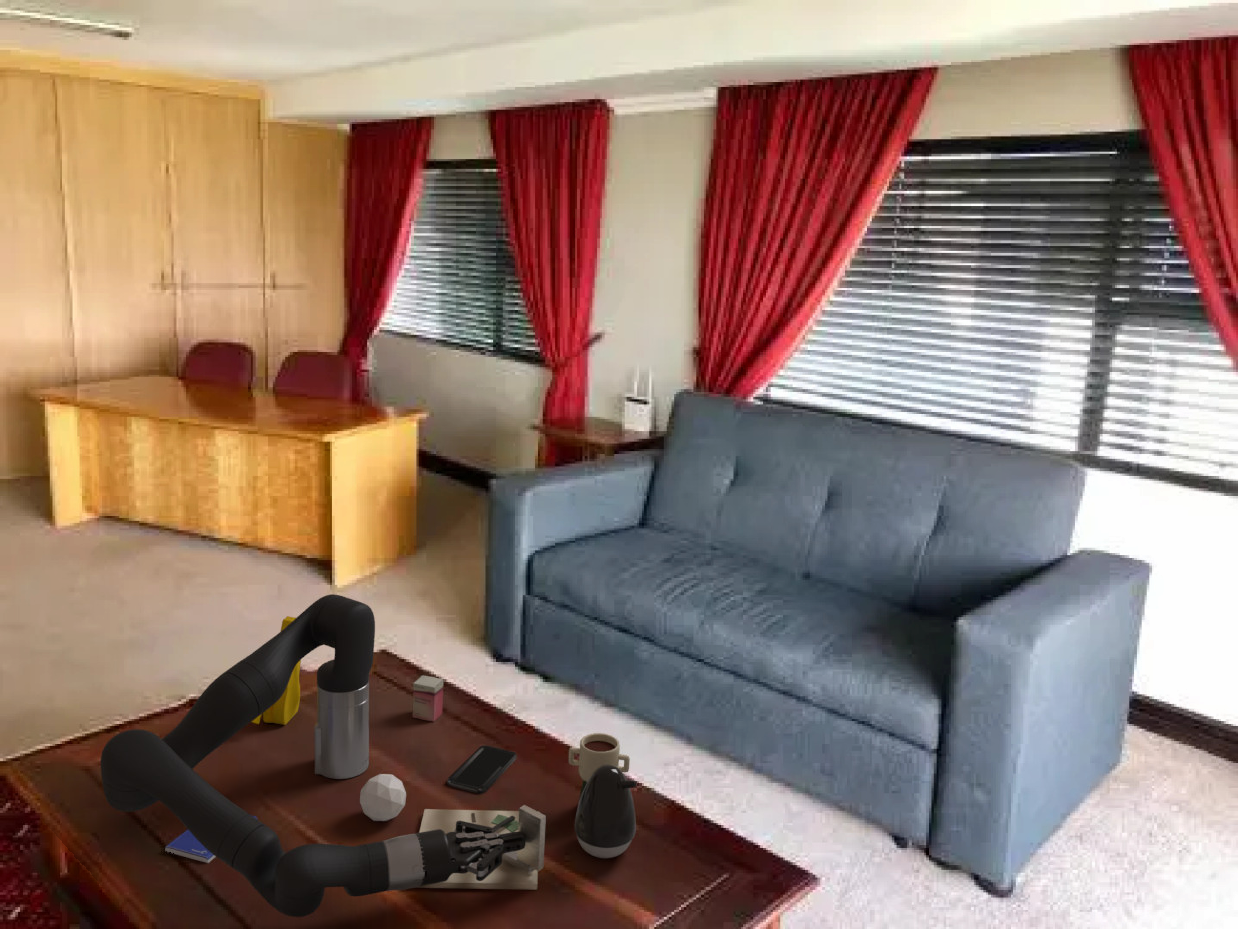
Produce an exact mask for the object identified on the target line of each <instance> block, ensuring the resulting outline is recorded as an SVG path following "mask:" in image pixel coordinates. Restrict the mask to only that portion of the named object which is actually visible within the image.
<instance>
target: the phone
mask: <svg viewBox="0 0 1238 929" xmlns="http://www.w3.org/2000/svg"><path fill="white" fill-rule="evenodd" d="M516 760H517V753H516V752H514V751H511V750H508V749H505V748H504V749H503V748H499V747H497V746H496V747H495V746H491V745H485V744H484V745H481V746H480V747H478V748H477V749H476V750H475V751H474V752H473V753H472V754H471V755H470V756H469V757H468V758H467V759H466V760H465V761H464V762H463V763H462V764H461V765H460V766H459V767H458V768H457V769H456V770H454V772H453V773H452V774H451V775H450V776H449V777H448V778H447V782H446V785H447V786H449V787H450V788H451V787H452V788H454V789H459V790H463V791H466V792H470V793H474V794H478V795H482V794H485V793H486V792H488V790H489V789H490V788H491V787H492V786H493V785H494V784H495V783H496V782H497V781H498V779H499V778H500V777H501V776H503V774H504V773H505V772H506V771H507V770H508V768H509V767H511V765H512V764H513V763H515V761H516Z"/></svg>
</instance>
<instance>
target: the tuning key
mask: <svg viewBox="0 0 1238 929" xmlns="http://www.w3.org/2000/svg"><path fill="white" fill-rule="evenodd" d="M518 811H519V826H518V832H519V831H521V832H522V833H523V834H524V836H525V838H526V842H525V848H524V849H521V850H518V851H517V852H516V851H513V852H508V853H504V854H503V855H502V859H503V860H505V861H507V862H508V863H510V864H512V865H514V866H515V867H517V868H519V869H521V870H522V871H524V872H526V873H528V874H530V873H531V872H533V871H534V870H537V871H538V872H540V871H541V870H542V869H544V862H545V845H546V843H545V841H546V824H547V823H546V820H547V818H546V817H547V816H546V815H545V814H543V813H541V812H540V811H537V810H535V809H534V808H531V807H529V806H527V805H526V804H524V805H522V806H520V807H519V808H518ZM539 812H540V813H539ZM514 820H515V817H514V816H510V817H509V818H507V819H505V820H504V821H502V822H501V823H499V824H497V825H496V826H494V827H492V832H496V831H497V830H499V829H501V828H502V827H504V826H505V825H507V824H509V823H510V822H512V821H514ZM490 852H491V851H490Z"/></svg>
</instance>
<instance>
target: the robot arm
mask: <svg viewBox="0 0 1238 929" xmlns="http://www.w3.org/2000/svg"><path fill="white" fill-rule="evenodd" d="M295 618H296V619H295V620H294V621H292V622H291V623H290V624H289V625H288V626H287V627H286V628H284V629H283V630H282V631H281V630H280V632H278V633H277V634H276V635H275V636H273V637H272V638H270V639H269V640H267V641H266V642H265V643H263V644H262V645H261V646H259V647H258V648H257V649H256V650H254V651H253V652H252V653H250V654H249V655H247V656H246V657H244V658H243V659H241V660H240V661H238V662H237V663H235V664H234V665H233V666H232V665H231V667H230V668H228V669H226V671H224V672H222V673H221V674H220V675H219V676H218V677H216V678H215V679H214V680H213V681H212V682H211V683H210V684H208V686H206V689H204V691H203V692H202V693H201V695H199V697H198V698H197V700H196V701H195V702H194V704H193V705H192V707H191V708H190V709H189V710H188V712H187V714H186V715H184V717H183V718H182V720H181V721H180V722H179V723H178V724H177V726H175V727H174V729H172V730H171V731H170V732H169V733H168V734H166V735H165V736H164V737H162V738H161V737H159V736H158V735H157V734H155V733H154V732H152V731H149V730H146V729H138V728H135V729H128V730H123V731H121V732H119V733H117V734H116V735H114V736H113V737H111V738H110V739H109V740H108V741H107V742H106V744H105V745H104V746H103V749H102V752H101V756H100V761H99V762H100V773H101V781H102V787H103V793H104V796H105V799H106V801H107V803H108V804H109V806H111V807H112V808H113V809H114V810H117V811H120V812H126V813H132V812H138V811H141V810H144V809H147V808H149V807H150V806H152V805H153V804H155V803H157V802H160V803H162V804H163V805H164V806H165V807H166V808H168V810H170V811H171V813H173V814H174V816H176V818H177V819H178V820H180V822H181V823H182V824H183V826H185V828H186V830H189V831H190V832H191V833H192V835H193V836H194V837H195V838H196V839H197V840H198V841H199V842H200V843H201V844H202V845H203V846H204V847H205V848H206V849H207V850H208V851H209V852H211V853H212V854H213V855H215V856H216V857H215V858H217V859H218V860H221V861H222V862H223V863H225V864H226V865H227V866H229V867H230V868H232V869H233V870H235V871H236V872H238V873H239V874H241V875H242V876H243V877H244V879H246V880H247V881H248V882H249V883H250V885H251V886H252V887H253V889H254V890H256V891H257V893H258V894H259V895H260V896H261V897H262V898H263V899H264V900H265V901H266V902H267V903H268V904H269V905H270V906H271V907H272V908H274V909H275V910H276V911H278V912H279V913H281V914H283V915H286V916H288V917H293V918H302V917H303V918H304V917H306V916H309V915H311V914H313V913H314V912H315V911H316V910H317V909H318V908H319V907H320V905H321V904H322V902H323V899H324V895H325V889H326V888H343V889H344V890H345V892H346V894H347V895H348V896H350V897H363V896H368V895H373V894H374V895H375V894H379V893H383V892H389V891H402V890H403V891H404V890H408V889H413V888H414V887H419V886H424V885H429V884H434V883H439V882H445V881H447V880H448V878H449V877H450V875H451V874H453V873H462V874H464V873H467V872H471V873H473V874H476V880H478V881H482V880H484V879H485V878H486V877H487V876H488V875H489V874H491V873H492V872H493V871H494V870H495V869H496V868H497V867H498V866H499V865H501V864H502V855H503V854H504V853H508V852H513V851H518V850H521V849H524V848H525V842H526V838H525V836H524V834H523V833H522V832H521V831H519V832H511V833H505V834H499V833H494V832H492V828H491V827H487V826H483V825H478V824H473V823H469V822H464V821H457V822H456V829H455V830H454V832H449V833H447V834H445V832H444V831H443V830H441V829H437V830H432V831H426V832H420V831H419V832H420V833H419V832H416V833H408V834H404V835H399V836H395V837H392V838H389V839H385V840H380V841H376V842H375V841H374V842H370V843H369V842H368V843H364V844H358V845H346V844H333V843H330V844H329V843H308V844H302V845H298V846H296V847H294V848H292V849H290V850H288V851H287V852H286V851H284V849H283V848H282V846H281V841H280V838H279V835H278V834H277V833H276V831H274V830H273V829H272V828H271V827H269V826H268V825H266V824H265V823H263V822H262V821H261V820H259V819H258V818H257V819H256V818H254V817H253V816H254V815H251V814H250V813H248V812H247V811H246V810H244V809H242V808H241V807H240V806H238V805H237V804H235V803H234V801H233V802H232V800H230V799H229V798H227V797H226V796H224V795H223V794H222V793H221V792H219V791H218V790H217V789H216V788H215V787H214V786H212V785H211V784H210V783H208V781H206V780H205V779H204V778H203V777H202V776H201V775H199V773H197V772H196V771H195V770H194V768H195V767H197V765H199V763H201V761H203V760H204V759H205V758H206V757H207V756H209V755H210V754H212V752H214V751H215V750H216V749H219V747H220V746H222V745H223V744H225V742H228V740H229V739H230V738H232V737H233V736H234V735H235V734H237V733H238V732H239V731H241V730H242V729H243V728H244V727H246V726H247V725H249V724H250V723H252V722H251V721H253V720H254V719H256V718H257V717H258V716H260V715H261V714H262V715H263V712H265V711H266V710H267V709H269V708H270V707H271V706H272V705H273V704H275V703H276V702H277V701H278V700H279V699H280V698H281V696H282V695H283V693H284V691H285V689H286V687H287V685H288V683H289V680H290V677H291V674H292V672H293V670H294V667H295V666H296V664H297V663H298V662H299V661H300V660H301V661H302V659H303V658H304V657H306V656H307V655H308V654H309V653H311V652H313V651H314V650H316V649H317V648H319V647H321V646H327V647H328V648H329V647H330V648H332V649H333V650H334V656H333V659H330V660H328V661H326V662H324V663H322V664H321V665H320V666H319V667H318V669H317V672H316V704H317V705H316V710H317V711H316V713H317V714H316V716H317V717H316V719H317V720H316V723H315V725H314V730H313V732H314V738H313V739H314V774H315V775H322V776H323V777H325V778H329V779H335V780H343V779H346V780H347V779H351V778H354V777H357V776H359V775H361V774H363V773H364V772H366V770H367V769H368V768H369V765H370V764H369V761H370V760H369V759H370V751H369V750H370V748H369V747H370V736H369V735H370V720H369V719H370V718H369V716H370V715H369V714H370V712H369V710H370V709H369V708H370V707H369V706H370V673H371V670H372V668H373V663H374V656H375V655H374V653H375V636H376V621H375V616H374V612H373V609H372V608H371V607H370V606H369V605H368V604H366V603H364V602H361V601H359V600H357V599H352V598H350V597H347V596H344V595H343V596H342V595H340V594H334V593H333V594H332V593H331V594H326V595H325V596H322V597H320V598H319V599H316V600H315V601H314V602H313V603H311V605H309V606H307V608H306V609H305V610H304V611H302V612H301V613H300V614H299V615H298V616H297V617H295ZM262 715H261V716H262ZM490 851H491V852H490Z"/></svg>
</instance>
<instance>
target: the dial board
mask: <svg viewBox="0 0 1238 929" xmlns="http://www.w3.org/2000/svg"><path fill="white" fill-rule="evenodd" d="M538 812H539V813H541V812H540V811H538ZM422 815H423V816H422V819H421V824H420V828H419V831H418V833H420V832H426V831H432V830H437V829H441V830H443V831H444V832H445V834H447V833H449V832H454V830H455V829H456V822H457V821H464V822H469V823H473V824H478V825H483V826H487V827H491V828H492V827H494V826H496V825H497V824H499V823H501V822H502V821H504V820H505V819H507V818H509V817H510V816H514V817H515V820H514V821H512V822H510V823H509V824H507V825H505V826H504V827H502V828H501V829H499V830H497V831H496V832H494V833H499V834H505V833H511V832H518V826H519V810H485V809H484V810H479V809H439V808H438V809H436V808H434V809H432V808H431V809H430V808H424V811H423V814H422ZM516 852H517V851H516ZM538 872H539V871H537V870H534V871H533V872H531V873H530V874H528V873H526V872H524V871H522V870H521V869H519V868H517V867H515V866H514V865H512V864H510V863H508V862H507V861H505V860H503V859H502V864H501V865H499V866H498V867H497V868H496V869H495V870H494V871H493V872H492V873H491V874H489V875H488V876H487V877H486V878H485V879H484V880H482V881H478V880H476V874H473V873H471V872H467V873H464V874H462V873H453V874H451V875H450V877H449V878H448V880H447V881H445V882H439V883H434V884H429V885H424V886H419V887H414V888H418V889H419V888H421V889H422V888H424V889H425V888H426V889H428V888H429V889H476V890H477V889H478V890H479V889H480V890H481V889H482V890H484V889H485V890H532V891H533V890H535V891H536V890H538V876H539V874H538Z"/></svg>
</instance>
